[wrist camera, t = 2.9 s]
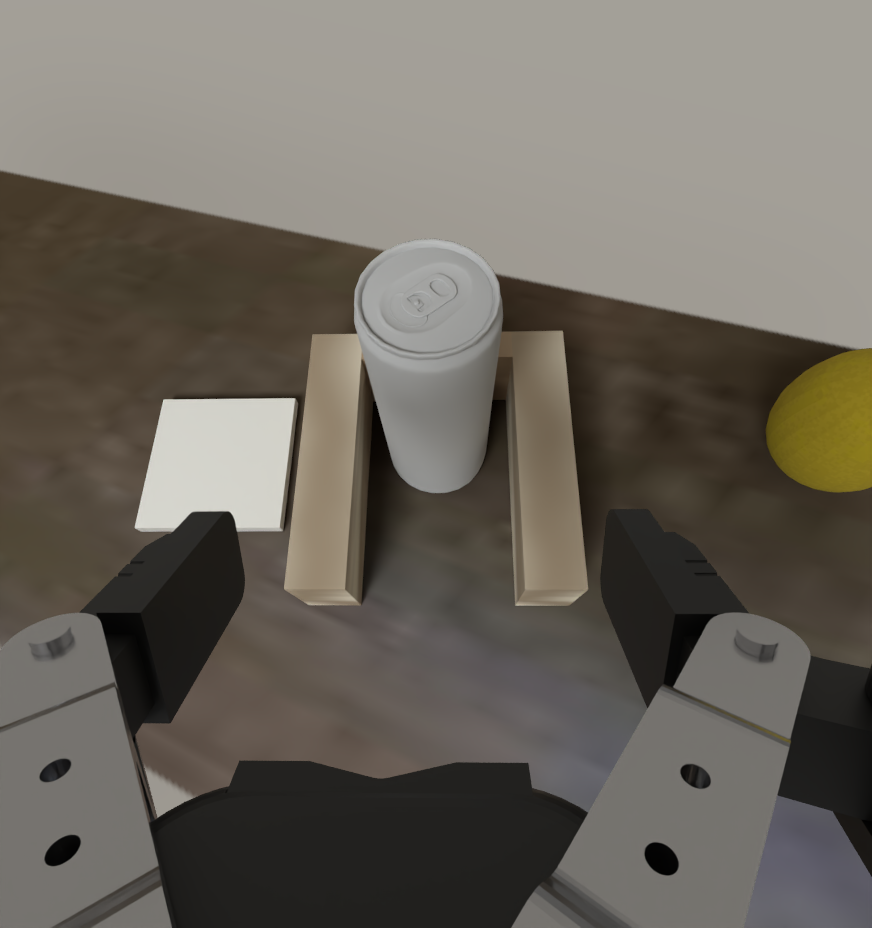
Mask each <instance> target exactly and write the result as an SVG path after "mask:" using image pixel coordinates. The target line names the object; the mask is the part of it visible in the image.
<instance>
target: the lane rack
mask: <svg viewBox="0 0 872 928" xmlns="http://www.w3.org/2000/svg"><path fill="white" fill-rule="evenodd" d="M492 400H506V417H507V438H508V460H509V481H510V502H511V523H512V545H513V566H514V587H515V606H569V605H570V604H571V603H573V602H574V601H575V600H576V599H577V598H579V597H580V596H581V595H582V594H584V593H585V592H586V591H587V590H588V583H587V573H586V562H585V552H584V542H583V532H582V522H581V511H580V501H579V491H578V481H577V471H576V460H575V450H574V440H573V430H572V420H571V409H570V399H569V389H568V379H567V369H566V358H565V348H564V338H563V331H514V332H501V339H500V347H499V355H498V362H497V369H496V377H495V384H494V391H493V398H492ZM373 401H376V400H375V396H374V393H373V389H372V386H371V382H370V378H369V375H368V371H367V367H366V364H365V360H364V356H363V353H362V349H361V345H360V342H359V338H358V334H318V335H313V336H312V345H311V354H310V363H309V372H308V381H307V390H306V399H305V408H304V416H303V425H302V434H301V443H300V452H299V461H298V470H297V479H296V488H295V496H294V505H293V514H292V523H291V532H290V541H289V550H288V559H287V568H286V576H285V585H284V590H286V591H288V592H289V593H291V594H292V595H294V596H295V597H297V598H299V599H300V600H302V601H303V602H305V603H307V604H308V605H361V601H362V584H363V567H364V550H365V533H366V516H367V499H368V481H369V464H370V447H371V430H372V413H373Z"/></svg>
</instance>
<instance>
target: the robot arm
mask: <svg viewBox="0 0 872 928" xmlns="http://www.w3.org/2000/svg"><path fill="white" fill-rule="evenodd" d="M130 562H131V563H130V564H127V565H126V566H125V567H124V568H123V569H122V570H121V571H120V572H119V573H118V577H114V578H113V579H112V580H111V581H110V582H109V583H108V584H107V585H106V586H105V587H104V588H103V589H102V590H101V591H100V592H99V593H98V594H97V595H96V596H95V597H94V598H93V599H92V600H91V601H90V602H89V603H88V604H87V605H86V606H85V607H84V608H83V609H82V610H81V611H80V612H79V613H70V614H64V615H59V616H55V617H51V618H48V619H45V620H43V621H40V622H38V623H36V624H33V625H31V626H29V627H27V628H26V629H24V630H22V631H21V632H19V633H17V634H16V635H15V636H13V637H12V638H11V639H10V640H9V641H8V642H7V643H6V644H5V645H4V646H3V647H2V649H1V650H0V928H744V924H745V920H746V916H747V912H748V908H749V904H750V900H751V896H752V892H753V888H754V885H755V881H756V877H757V873H758V869H759V865H760V861H761V857H762V853H763V849H764V845H765V841H766V837H767V833H768V830H769V826H770V822H771V818H772V814H773V810H774V806H775V802H776V798H777V795H778V796H782V797H785V798H789V799H792V800H796V801H799V802H803V803H806V804H810V805H813V806H817V807H820V808H824V809H827V810H831V811H833V813H834V814H835V816H836V818H837V819H838V821H839V823H840V824H841V826H842V828H843V830H844V831H845V833H846V835H847V836H848V838H849V840H850V841H851V843H852V845H853V846H854V848H855V850H856V851H857V853H858V855H859V856H860V858H861V860H862V861H863V863H864V865H865V866H866V868H867V870H868V871H869V873H870V875H871V876H872V665H871V668H870V669H869V668H864V667H859V666H854V665H850V664H845V663H840V662H835V661H830V660H825V659H821V658H817V657H813V656H811V655H810V651H809V649H808V647H807V645H806V644H805V643H804V642H803V640H802V639H801V638H800V637H799V636H797V635H796V634H795V633H794V632H792V631H791V630H790V629H788V628H786V627H785V626H783V625H781V624H779V623H777V622H775V621H772V620H770V619H767V618H764V617H761V616H757V615H753V614H749V613H748V611H747V610H746V609H745V608H744V606H743V605H742V604H741V602H740V601H739V600H738V599H737V597H736V596H735V595H734V594H733V592H732V591H731V590H730V589H729V587H728V586H727V585H726V583H725V582H724V581H723V580H722V578H721V577H720V576H717V572H716V571H715V570H714V568H713V567H712V566H711V564H710V563H707V559H706V558H705V557H704V556H703V554H702V553H701V552H700V551H699V549H698V548H697V547H696V545H694V544H693V543H691V542H690V541H688V540H686V539H685V538H683V537H682V536H680V535H678V534H677V533H675V532H664V531H663V529H662V528H661V527H660V525H659V524H658V522H657V521H656V520H655V518H654V517H653V516H652V514H651V513H650V511H649V510H647V509H611V510H610V511H609V512H608V515H607V520H606V528H605V538H604V547H603V556H602V566H601V592H602V598H603V602H604V605H605V607H606V609H607V612H608V614H609V617H610V619H611V622H612V624H613V626H614V629H615V631H616V634H617V636H618V638H619V641H620V643H621V646H622V648H623V650H624V653H625V655H626V658H627V660H628V663H629V665H630V667H631V670H632V672H633V675H634V677H635V679H636V682H637V684H638V687H639V689H640V692H641V694H642V696H643V699H644V701H645V704H646V706H647V708H648V709H647V711H646V713H645V714H644V716H643V718H642V720H641V721H640V723H639V725H638V727H637V728H636V730H635V732H634V734H633V735H632V737H631V739H630V741H629V742H628V744H627V746H626V748H625V749H624V751H623V753H622V755H621V756H620V758H619V760H618V762H617V764H616V765H615V767H614V769H613V771H612V772H611V774H610V776H609V778H608V779H607V781H606V783H605V785H604V786H603V788H602V790H601V792H600V793H599V795H598V797H597V799H596V800H595V802H594V804H593V806H592V807H591V809H590V811H589V813H588V812H586V811H584V810H583V809H581V808H580V807H578V806H576V805H574V804H572V803H570V802H568V801H566V800H564V799H562V798H560V797H557V796H555V795H552V794H550V793H547V792H544V791H541V790H537V789H533V788H532V786H531V779H530V772H529V765H528V763H457V762H456V763H452V764H448V765H443V766H439V767H434V768H430V769H425V770H421V771H417V772H412V773H408V774H403V775H399V776H394V777H390V778H384V779H377V778H372V777H368V776H364V775H360V774H357V773H353V772H349V771H345V770H341V769H337V768H334V767H330V766H326V765H322V764H318V763H314V762H311V761H239V763H238V766H237V768H236V771H235V773H234V776H233V778H232V781H231V783H230V786H228V787H224V788H220V789H217V790H214V791H211V792H208V793H205V794H202V795H200V796H198V797H195V798H193V799H191V800H189V801H186V802H184V803H182V804H181V805H179V806H177V807H175V808H173V809H171V810H170V811H168V812H166V813H165V814H163V815H162V816H160V817H158V818H157V814H156V810H155V807H154V803H153V799H152V795H151V792H150V787H149V784H148V780H147V776H146V772H145V768H144V765H143V761H142V757H141V753H140V749H139V746H138V742H137V739H136V736H135V734H136V733H137V731H138V730H139V728H140V727H141V725H142V723H171V721H172V720H173V718H174V716H175V715H176V713H177V711H178V709H179V708H180V706H181V704H182V702H183V701H184V699H185V697H186V696H187V694H188V692H189V690H190V689H191V687H192V685H193V684H194V682H195V680H196V678H197V677H198V675H199V673H200V671H201V670H202V668H203V666H204V665H205V663H206V661H207V659H208V658H209V656H210V654H211V653H212V651H213V649H214V647H215V646H216V644H217V642H218V640H219V639H220V637H221V635H222V634H223V632H224V630H225V628H226V627H227V625H228V623H229V622H230V620H231V618H232V616H233V615H234V613H235V611H236V609H237V608H238V606H239V604H240V602H241V600H242V597H243V593H244V586H245V575H244V569H243V563H242V557H241V552H240V546H239V540H238V535H237V529H236V524H235V520H234V517H233V515H232V514H231V513H230V512H229V511H195V512H192V513H190V514H189V515H188V516H187V517H186V519H185V520H184V521H183V522H182V523H181V524H180V525H179V526H178V527H177V528H176V529H175V530H174V531H173V532H172V533H171V534H166V535H164V536H163V537H161V538H159V539H157V540H156V541H154V542H152V543H150V544H149V545H147V546H145V547H144V548H143V549H142V550H141V551H140V552H139V553H138V554H137V555H136V556H135V557H134V558H133V559H132V560H131V561H130Z"/></svg>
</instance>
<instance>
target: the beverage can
mask: <svg viewBox="0 0 872 928" xmlns="http://www.w3.org/2000/svg"><path fill="white" fill-rule="evenodd" d="M354 307H355V311H354V323H355V327H356V331H357V334H358V338H359V342H360V345H361V349H362V353H363V356H364V360H365V364H366V367H367V371H368V375H369V378H370V382H371V386H372V389H373V393H374V396H375V400H376V404H377V407H378V411H379V415H380V418H381V422H382V426H383V429H384V433H385V437H386V440H387V444H388V448H389V451H390V455H391V459H392V462H393V466H394V467H395V469H396V471H397V472H398V474H399V476H400V477H401V478H402V479H404V480H405V481H406V482H407V483H408V484H409V485H411V486H413V487H415V488H417V489H419V490H421V491H426V492H430V493H447V492H450V491H454V490H457V489H460V488H461V487H463V486H464V485H466V484H468V483H469V482H470V481H471V480H472V479H473V478H474V477H475V475H476V474H477V473H478V471H479V469H480V467H481V465H482V463H483V461H484V457H485V454H486V448H487V440H488V431H489V423H490V414H491V406H492V398H493V391H494V384H495V377H496V369H497V362H498V355H499V347H500V339H501V331H502V323H503V307H502V298H501V295H500V285H499V282H498V280H497V277H496V275H495V273H494V270H493V269H492V268H491V267H490V265H489V264H488V263H487V262H486V261H485V260H484V258H483V257H481V256H480V255H478V254H477V253H476V252H474V251H473V250H471V249H470V248H468V247H465V246H463V245H460V244H458V243H455V242H452V241H446V240H440V239H417V240H413V241H409V242H405V243H401V244H398V245H396V246H394V247H392V248H390V249H388V250H386V251H384V252H382V253H381V254H380V255H379V256H377V257H376V258H375V259H374V260H372V261H371V262H370V263H369V265H368V266H367V267H366V269H365V270H364V271H363V273H362V274H361V275H360V278H359V281H358V283H357V286H356V289H355V301H354Z"/></svg>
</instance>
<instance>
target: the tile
mask: <svg viewBox="0 0 872 928" xmlns="http://www.w3.org/2000/svg"><path fill="white" fill-rule="evenodd" d="M297 410H298V402H297V400H296V399H295V398H265V399H176V400H163V405H162V409H161V413H160V418H159V422H158V427H157V431H156V436H155V440H154V444H153V449H152V453H151V458H150V462H149V467H148V471H147V476H146V480H145V484H144V489H143V493H142V498H141V502H140V507H139V511H138V515H137V520H136V524H135V529H137V530H139V531H141V532H154V531H174V530H175V529H176V528H177V527H178V526H179V525H180V524H181V523H182V522H183V521H184V520H185V519H186V517H187V516H188V515H189V514H190V513H192V512H195V511H229V512H230V513H231V514H232V515H233V517H234V520H235V524H236V529H237V531H283V529H284V521H285V512H286V504H287V495H288V487H289V478H290V470H291V461H292V453H293V444H294V436H295V427H296V419H297Z"/></svg>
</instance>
